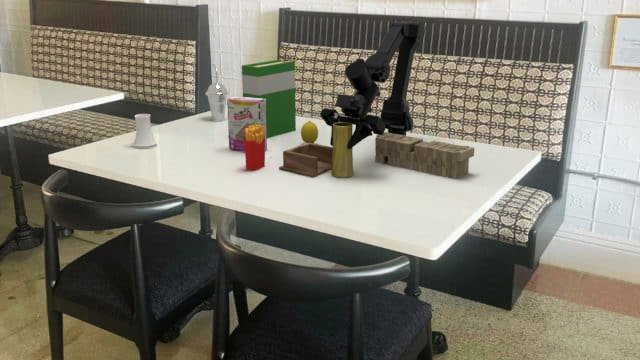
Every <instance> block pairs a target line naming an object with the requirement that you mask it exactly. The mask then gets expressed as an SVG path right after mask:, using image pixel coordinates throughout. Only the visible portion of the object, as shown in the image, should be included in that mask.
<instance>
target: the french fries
mask: <svg viewBox="0 0 640 360" xmlns="http://www.w3.org/2000/svg"><path fill="white" fill-rule="evenodd" d="M248 127H249V128H246V129H245V136H246V138H245V139H244V147H245V151H244V156H245V169H246V171H251V172H253V171H258V170H260V169H262V168H264V167H265V163H266V162H265V159H266V156H265V154H266V153H265V152H266V150H265V135H264V129H265V127H264V126H260V125H255V126H252V125H251V126H248Z"/></svg>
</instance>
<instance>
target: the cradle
mask: <svg viewBox="0 0 640 360" xmlns="http://www.w3.org/2000/svg"><path fill="white" fill-rule="evenodd" d="M332 153H333V146H328V145H323V144H318V143H304V144H301V145H297V146H295V147H291V148H289V149H286V150H284V151H282V158H283V159H282V162H283V165H281V166H279V167H278V170H279V171H283V172H286V173H292V174H295V175H300V176H303V177H307V178H312V179H313V178H316V177H318V176H321V175H323V174H325V173H328V172H330V171H332Z"/></svg>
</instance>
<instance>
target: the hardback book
mask: <svg viewBox="0 0 640 360" xmlns="http://www.w3.org/2000/svg"><path fill="white" fill-rule="evenodd" d="M241 83H242V97H249V98H262V99H266V132H267V139H270V138H273V137H277V136H280V135H285V134H288V133H291V132H294V131H296V129H297V125H296V121H297V120H296V119H297V118H296V115H297V114H296V113H297V112H296V61H295V60H293V61H292V60H291V61H286V62H285V61H284V62H283V61H282V59H275V60H267V61H262V62H255V63H248V64H243V65H241Z"/></svg>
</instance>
